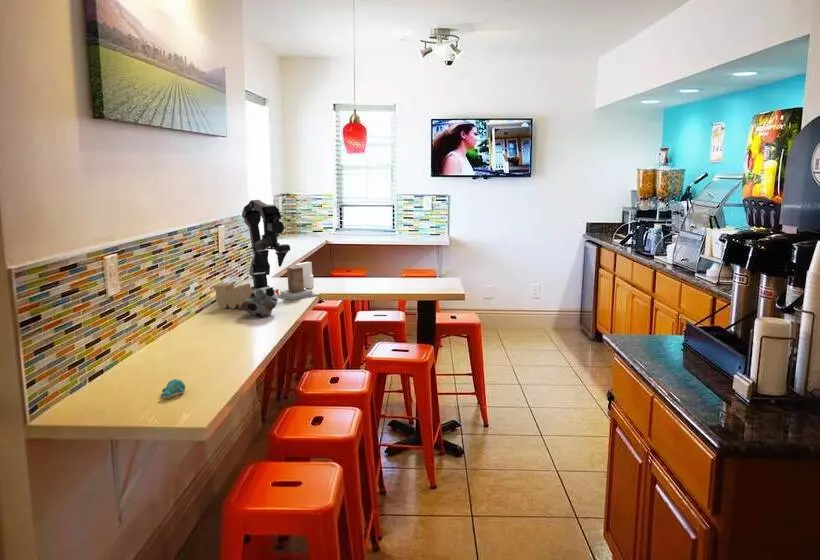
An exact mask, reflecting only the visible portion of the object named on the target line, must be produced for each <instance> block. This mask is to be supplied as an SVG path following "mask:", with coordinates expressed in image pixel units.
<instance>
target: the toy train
mask: <svg viewBox="0 0 820 560" xmlns="http://www.w3.org/2000/svg"><path fill="white" fill-rule="evenodd" d="M212 287H213V289H214V291H215V298H216V303H217V305H218V307H219V308H220V309H222V308H224V309H227V308H229V309H232V310H233V309H236V308H238V306H240V305H242V303H243V302H244V300H245V299H247V298H249V297H251V293H252V292H253V293H254V290H253V288H251V287H252V285H251V283H245V284H242V285H239V286H236V287H235V285H234V283H230V282H229V283H227V282H226V283H224V282H222V283H219V284H215V285H213V286H212Z"/></svg>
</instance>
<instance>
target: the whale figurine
mask: <svg viewBox="0 0 820 560" xmlns="http://www.w3.org/2000/svg"><path fill="white" fill-rule="evenodd" d="M161 391H162V393H161V394H160V397H161V398H163V399H171V398H174V397H178V396H180V395H183V394H184V393H185V391H186V385H185V383H184V382H183V380H181V379H178V378H177V379H174V378H173V379H171V380H169V381H168V383H167V384H166V387H163V388H162V390H161Z"/></svg>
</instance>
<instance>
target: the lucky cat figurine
mask: <svg viewBox="0 0 820 560" xmlns="http://www.w3.org/2000/svg"><path fill="white" fill-rule="evenodd" d="M279 291H280V289H279V288H278V289H274V287H271V286H270V287H263V288H260V289H257V290H256V292H254V291H253V292H252V293H251V297H249V298H247V299H245V300H244V302H243V303H242V305H240V306H238V307H237V308H239V310H241V311H245V312H246V313H248V314H249V315H251V316H254V317H258V318H259V319H264V318H268V317H270V316H272V313H273V310H274V309H275V308H276V306H277V305H278V301H279V295H280V292H279Z"/></svg>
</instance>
